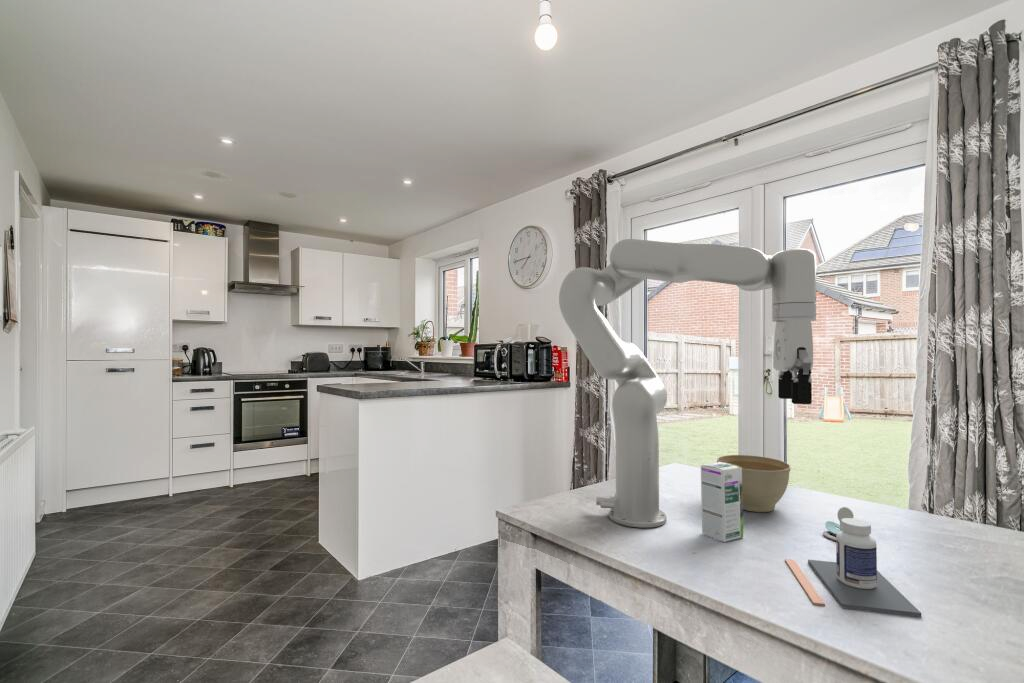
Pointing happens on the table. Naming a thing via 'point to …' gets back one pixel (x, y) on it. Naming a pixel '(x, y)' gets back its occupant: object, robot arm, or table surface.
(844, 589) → the mat
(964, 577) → the table surface
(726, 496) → the syrup box
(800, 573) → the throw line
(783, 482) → the planter bowl
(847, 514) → the pacifier
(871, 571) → the pill bottle
